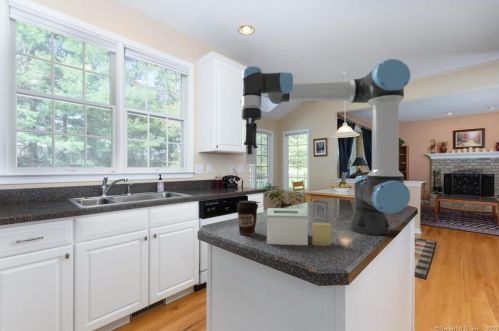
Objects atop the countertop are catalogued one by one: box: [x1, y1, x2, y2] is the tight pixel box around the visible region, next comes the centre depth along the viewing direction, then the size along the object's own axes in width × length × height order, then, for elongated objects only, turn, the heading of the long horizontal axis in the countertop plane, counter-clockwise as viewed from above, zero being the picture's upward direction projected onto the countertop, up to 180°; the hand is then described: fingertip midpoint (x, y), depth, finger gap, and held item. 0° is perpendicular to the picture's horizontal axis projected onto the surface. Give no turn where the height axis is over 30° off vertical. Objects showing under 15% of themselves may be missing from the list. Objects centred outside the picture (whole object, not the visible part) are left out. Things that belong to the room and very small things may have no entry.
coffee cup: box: [236, 200, 259, 236], centre depth 96 cm, size 9×8×13 cm
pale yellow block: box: [311, 222, 332, 247], centre depth 84 cm, size 6×3×7 cm, turn 85°
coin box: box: [266, 207, 309, 246], centre depth 90 cm, size 14×14×10 cm
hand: (251, 163), depth 93 cm, fingers open, 13 cm apart
